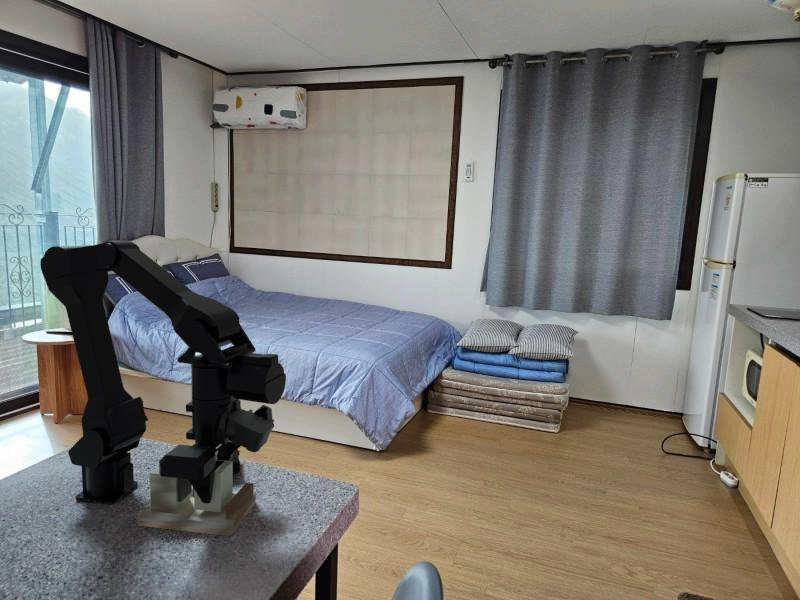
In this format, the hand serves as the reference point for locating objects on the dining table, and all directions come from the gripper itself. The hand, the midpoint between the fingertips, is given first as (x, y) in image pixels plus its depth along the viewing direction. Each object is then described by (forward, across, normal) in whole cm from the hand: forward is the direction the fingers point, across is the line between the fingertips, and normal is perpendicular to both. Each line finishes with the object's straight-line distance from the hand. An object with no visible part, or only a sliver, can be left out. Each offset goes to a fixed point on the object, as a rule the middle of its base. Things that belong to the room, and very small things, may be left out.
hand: (213, 495), depth 78 cm
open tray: (+3, 0, +2) cm, 4 cm away
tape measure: (+4, +14, +5) cm, 15 cm away
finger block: (+1, 0, 0) cm, 1 cm away
